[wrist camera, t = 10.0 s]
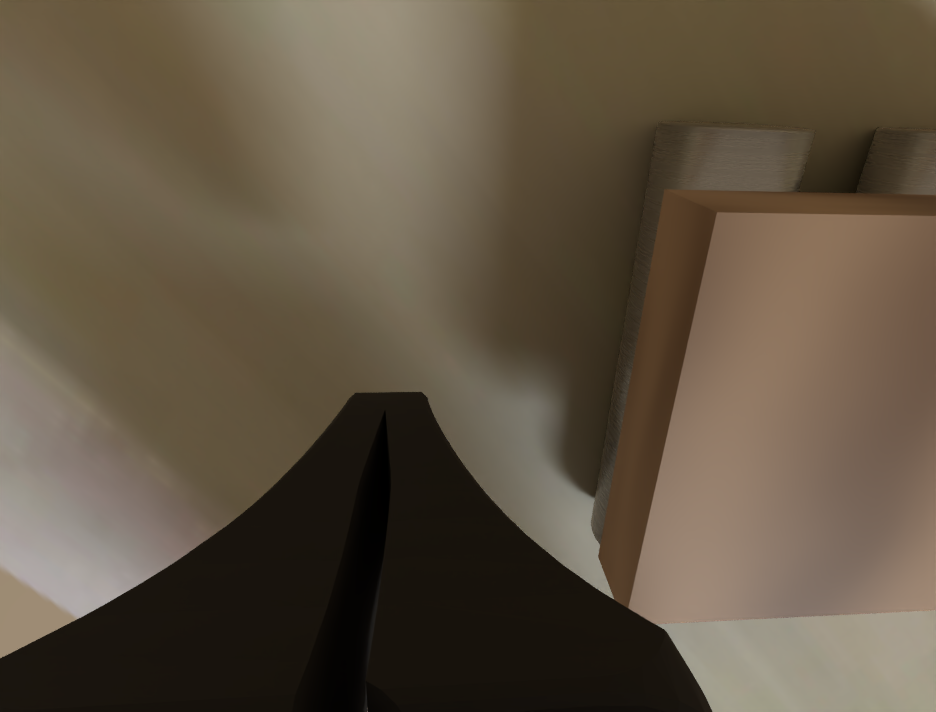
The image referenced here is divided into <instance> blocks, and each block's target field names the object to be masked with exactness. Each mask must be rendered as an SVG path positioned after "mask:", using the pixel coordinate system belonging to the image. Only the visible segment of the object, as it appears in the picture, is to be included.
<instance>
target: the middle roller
mask: <svg viewBox="0 0 936 712" xmlns="http://www.w3.org/2000/svg"><path fill="white" fill-rule="evenodd" d="M856 193H869V194H919V195H936V129H912V128H877V129H876V132H875V135H874V138H873V141H872V144H871V147H870V150H869V153H868V156H867V159H866V163H865V166H864V169H863V172H862V175H861V178H860V181H859V184H858V187H857V190H856Z"/></svg>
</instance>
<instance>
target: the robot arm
mask: <svg viewBox="0 0 936 712" xmlns="http://www.w3.org/2000/svg"><path fill="white" fill-rule="evenodd" d="M367 707H368V712H712V710H711V708H710V706H709V704H708V701H707V699H706V697H705V695H704V693H703V691H702V690H701V688H700V686H699V685H698V683H697V681H696V679H695V678H694V676H693V674H692V673H691V671H690V669H689V667H688V666H687V664H686V663H685V661H684V659H683V658H682V656H681V655H680V653H679V651H678V650H677V648H676V646H675V645H674V643H673V642H672V640H671V638H670V637H669V635H668V633H667V632H666V631H665V630H664V629H662V628H660V627H659V626H657V625H655V624H654V623H652V622H650V621H649V620H647V619H645V618H644V617H642V616H640V615H639V614H637V613H635V612H634V611H632V610H630V609H629V608H627V607H625V606H624V605H622V604H620V603H619V602H617V601H615V600H614V599H612V598H610V597H609V596H607V595H605V594H604V593H602V592H601V591H599V590H598V589H596V588H595V587H593V586H592V585H590V584H589V583H587V582H586V581H585V580H583V579H582V578H580V577H579V576H578V575H576V574H575V573H573V572H572V571H571V570H569V569H568V568H566V567H565V566H563V565H562V564H561V563H560V562H558V561H557V560H556V559H555V558H554V557H552V556H551V555H550V554H549V553H548V552H546V551H545V550H544V549H543V548H542V547H540V546H539V545H538V544H537V543H536V542H534V541H533V540H532V539H531V538H530V537H528V536H527V535H526V534H525V533H524V532H523V531H522V530H521V529H520V528H519V527H518V526H517V525H516V524H515V523H514V522H513V521H511V520H510V519H509V518H508V517H507V516H506V515H505V513H504V512H503V511H502V510H501V509H500V508H499V507H498V506H497V505H496V504H495V503H494V502H493V501H492V500H491V498H490V497H489V496H488V495H487V494H486V493H485V492H484V490H483V489H482V488H481V487H480V485H479V484H478V483H477V482H476V480H475V479H474V478H473V477H472V475H471V474H470V473H469V471H468V470H467V469H466V467H465V466H464V465H463V463H462V462H461V460H460V459H459V458H458V456H457V455H456V453H455V451H454V450H453V448H452V447H451V445H450V444H449V442H448V440H447V439H446V437H445V436H444V434H443V432H442V430H441V429H440V427H439V425H438V423H437V421H436V419H435V417H434V415H433V413H432V410H431V408H430V405H429V402H428V398H427V397H426V396H425V395H424V394H423V393H422V392H386V393H355V394H354V395H353V396H352V397H351V398H349V400H348V401H347V403H346V404H345V405H344V407H343V408H342V410H341V411H340V412H339V414H338V415H337V416H336V417H335V419H334V420H333V421H332V423H331V424H330V425H329V426H328V428H327V429H326V430H325V431H324V432H323V434H322V435H321V436H320V437H319V438H318V439H317V441H316V442H315V443H314V444H313V445H312V446H311V447H310V449H309V450H308V451H307V452H306V453H305V454H304V455H303V457H302V458H301V459H300V460H299V461H298V462H297V463H296V464H295V465H294V466H293V467H292V468H291V469H290V470H289V471H288V472H287V473H286V474H285V475H284V476H283V477H282V478H281V479H280V480H279V481H278V482H277V483H276V484H275V485H274V486H273V487H272V488H271V489H270V490H269V491H268V492H266V493H265V494H264V495H263V496H262V497H261V498H260V499H259V500H258V501H257V502H255V503H254V504H253V505H252V506H251V507H250V508H248V509H247V510H246V511H245V512H244V513H242V514H241V515H240V516H239V517H238V518H236V519H235V520H234V521H232V522H231V523H230V524H229V525H227V526H226V527H224V528H223V529H222V530H220V531H219V532H217V533H216V534H215V535H213V536H212V537H210V538H209V539H207V540H206V541H205V542H203V543H202V544H200V545H199V546H198V547H196V548H195V549H193V550H192V551H190V552H189V553H188V554H186V555H185V556H183V557H182V558H181V559H179V560H178V561H176V562H175V563H173V564H172V565H170V566H168V567H167V568H165V569H164V570H162V571H160V572H159V573H157V574H156V575H154V576H152V577H151V578H149V579H148V580H146V581H144V582H143V583H141V584H139V585H138V586H136V587H134V588H132V589H131V590H129V591H127V592H126V593H124V594H122V595H120V596H119V597H117V598H115V599H114V600H112V601H110V602H108V603H107V604H105V605H103V606H101V607H99V608H98V609H96V610H94V611H92V612H90V613H89V614H87V615H85V616H83V617H81V618H79V619H77V620H75V621H73V622H71V623H69V624H67V625H65V626H63V627H61V628H60V629H58V630H56V631H54V632H52V633H50V634H48V635H46V636H44V637H42V638H40V639H38V640H36V641H34V642H32V643H30V644H28V645H26V646H24V647H22V648H20V649H18V650H16V651H14V652H12V653H11V654H8V655H7V656H5V657H2V658H0V712H367Z"/></svg>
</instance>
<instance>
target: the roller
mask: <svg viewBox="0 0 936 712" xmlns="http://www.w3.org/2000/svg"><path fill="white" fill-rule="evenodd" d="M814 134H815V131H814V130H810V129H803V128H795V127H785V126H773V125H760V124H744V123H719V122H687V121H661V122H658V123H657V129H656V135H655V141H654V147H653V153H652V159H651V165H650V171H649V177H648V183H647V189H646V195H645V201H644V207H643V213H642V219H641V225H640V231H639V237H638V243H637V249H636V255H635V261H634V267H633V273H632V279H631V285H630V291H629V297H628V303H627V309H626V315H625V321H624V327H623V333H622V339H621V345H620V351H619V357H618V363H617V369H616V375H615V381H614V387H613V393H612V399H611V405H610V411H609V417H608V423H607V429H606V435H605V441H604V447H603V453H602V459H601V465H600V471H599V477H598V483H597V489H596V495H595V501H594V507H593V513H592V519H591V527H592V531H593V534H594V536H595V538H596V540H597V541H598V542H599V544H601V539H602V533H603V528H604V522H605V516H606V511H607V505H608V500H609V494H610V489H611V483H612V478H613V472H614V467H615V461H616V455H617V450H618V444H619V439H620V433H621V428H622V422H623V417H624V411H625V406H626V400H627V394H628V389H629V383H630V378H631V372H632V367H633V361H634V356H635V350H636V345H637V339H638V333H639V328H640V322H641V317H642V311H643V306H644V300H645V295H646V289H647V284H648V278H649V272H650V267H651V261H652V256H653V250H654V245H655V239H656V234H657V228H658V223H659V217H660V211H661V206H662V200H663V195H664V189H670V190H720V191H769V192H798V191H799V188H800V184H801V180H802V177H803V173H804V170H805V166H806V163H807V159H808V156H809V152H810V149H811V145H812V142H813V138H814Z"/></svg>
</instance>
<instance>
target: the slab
mask: <svg viewBox="0 0 936 712" xmlns="http://www.w3.org/2000/svg"><path fill="white" fill-rule="evenodd" d="M598 557H599V560H600V563H601V565H602V568H603V570H604V573H605V576H606V578H607V581H608V584H609V586H610V589H611V592H612V594H613V597H614V599H615V601H617V602H619V603H620V604H622V605H624V606H625V607H627V608H629V609H630V610H632V611H634V612H635V613H637V614H639V615H640V616H642V617H644V618H645V619H647V620H649V621H650V622H652V623H654V624H667V623H687V622H707V621H727V620H748V619H768V618H788V617H808V616H828V615H849V614H869V613H889V612H909V611H929V610H936V195H919V194H869V193H819V192H769V191H720V190H670V189H664V195H663V200H662V206H661V211H660V217H659V223H658V228H657V234H656V239H655V245H654V250H653V256H652V261H651V267H650V272H649V278H648V284H647V289H646V295H645V300H644V306H643V311H642V317H641V322H640V328H639V333H638V339H637V345H636V350H635V356H634V361H633V367H632V372H631V378H630V383H629V389H628V394H627V400H626V406H625V411H624V417H623V422H622V428H621V433H620V439H619V444H618V450H617V455H616V461H615V467H614V472H613V478H612V483H611V489H610V494H609V500H608V505H607V511H606V516H605V522H604V528H603V533H602V539H601V544H600V550H599V555H598Z"/></svg>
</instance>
